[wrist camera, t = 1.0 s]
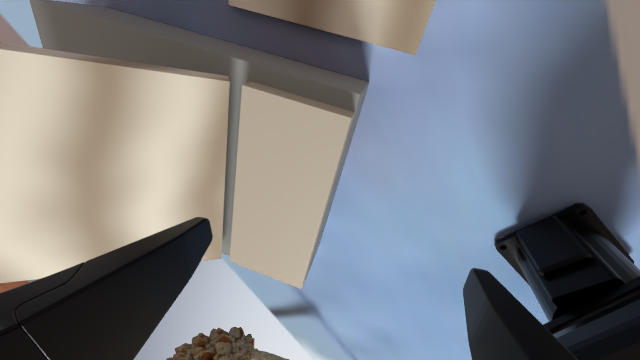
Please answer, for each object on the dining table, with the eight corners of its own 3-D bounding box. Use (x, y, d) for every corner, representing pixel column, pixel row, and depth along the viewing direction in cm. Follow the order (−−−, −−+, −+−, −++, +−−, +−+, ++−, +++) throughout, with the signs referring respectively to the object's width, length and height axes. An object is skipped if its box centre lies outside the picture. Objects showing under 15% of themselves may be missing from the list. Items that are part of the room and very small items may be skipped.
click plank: (228, 76, 15) (229, 81, 14) (220, 247, 22) (221, 258, 21) (-132, 22, 10) (-165, 25, 9) (6, 267, 17) (-6, 283, 16)
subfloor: (369, 81, 19) (357, 99, 13) (319, 244, 27) (298, 296, 21) (105, 6, 21) (2, -6, 16) (132, 176, 29) (70, 207, 24)
